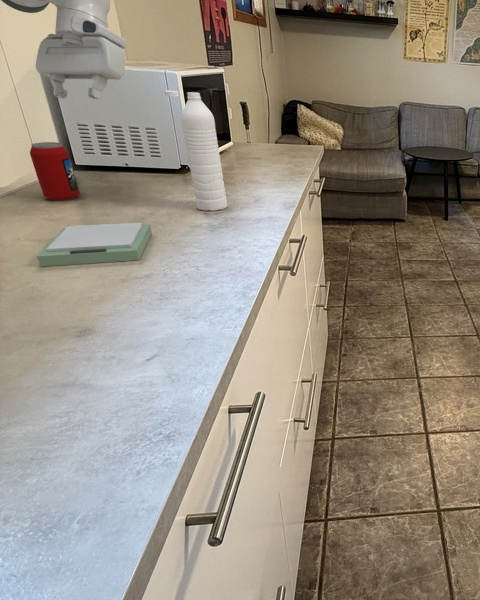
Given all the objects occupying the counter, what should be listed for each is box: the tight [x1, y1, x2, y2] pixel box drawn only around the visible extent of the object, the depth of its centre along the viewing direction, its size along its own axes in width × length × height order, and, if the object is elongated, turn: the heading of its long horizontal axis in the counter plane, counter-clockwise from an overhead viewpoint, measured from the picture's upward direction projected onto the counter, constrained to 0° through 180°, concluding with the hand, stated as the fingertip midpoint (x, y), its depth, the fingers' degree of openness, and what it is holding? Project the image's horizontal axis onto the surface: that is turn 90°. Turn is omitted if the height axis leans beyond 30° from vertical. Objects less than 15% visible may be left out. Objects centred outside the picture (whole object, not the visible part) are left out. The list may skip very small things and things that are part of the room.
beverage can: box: [29, 141, 81, 201], centre depth 107 cm, size 7×7×12 cm
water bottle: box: [164, 89, 228, 212], centre depth 105 cm, size 9×6×25 cm
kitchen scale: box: [36, 222, 153, 268], centre depth 85 cm, size 14×14×2 cm
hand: (77, 97), depth 103 cm, fingers open, 8 cm apart
